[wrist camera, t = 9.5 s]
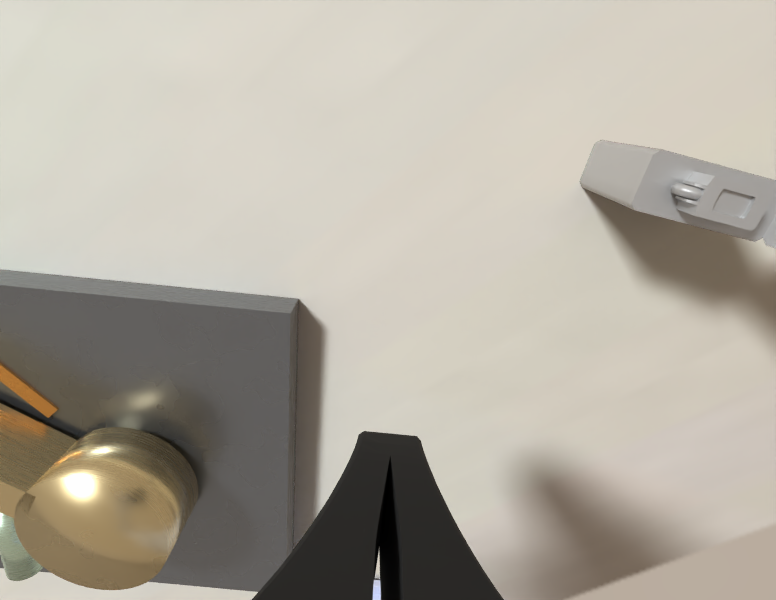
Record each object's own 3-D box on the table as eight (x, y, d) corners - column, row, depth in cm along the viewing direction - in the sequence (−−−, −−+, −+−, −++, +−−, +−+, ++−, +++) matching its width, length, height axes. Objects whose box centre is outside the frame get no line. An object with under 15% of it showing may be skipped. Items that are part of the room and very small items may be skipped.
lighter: (577, 186, 17) (706, 243, 10) (596, 138, 17) (748, 162, 9) (752, 232, 18) (997, 319, 11) (776, 187, 17) (1057, 246, 10)
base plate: (292, 567, 26) (278, 626, 23) (-1, 540, 25) (-52, 595, 23) (298, 299, 20) (280, 331, 17) (-86, 261, 19) (-171, 287, 16)
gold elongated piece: (220, 468, 21) (192, 523, 18) (167, 548, 23) (134, 609, 20) (-92, 312, 18) (-180, 349, 15) (-121, 417, 20) (-204, 466, 17)
